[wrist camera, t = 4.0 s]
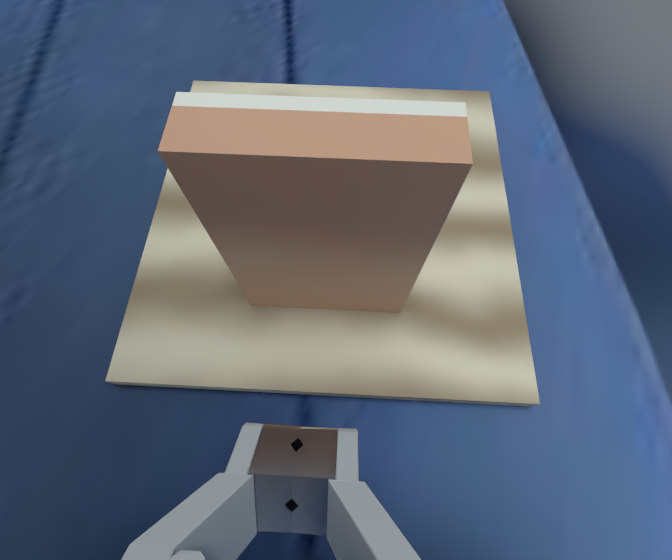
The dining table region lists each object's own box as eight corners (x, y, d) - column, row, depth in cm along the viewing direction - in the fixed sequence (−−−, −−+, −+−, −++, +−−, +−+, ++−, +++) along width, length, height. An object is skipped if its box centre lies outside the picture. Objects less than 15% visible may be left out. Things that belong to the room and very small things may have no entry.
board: (529, 406, 21) (539, 404, 20) (116, 384, 22) (105, 381, 21) (483, 104, 31) (489, 91, 30) (198, 93, 32) (193, 80, 30)
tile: (251, 305, 23) (157, 151, 11) (256, 269, 24) (176, 91, 12) (400, 312, 22) (473, 163, 11) (399, 276, 23) (465, 102, 12)
